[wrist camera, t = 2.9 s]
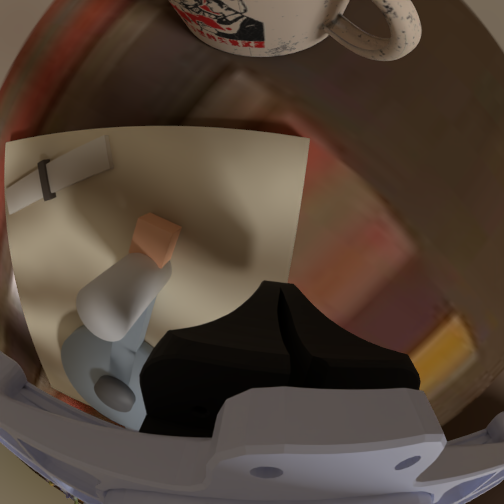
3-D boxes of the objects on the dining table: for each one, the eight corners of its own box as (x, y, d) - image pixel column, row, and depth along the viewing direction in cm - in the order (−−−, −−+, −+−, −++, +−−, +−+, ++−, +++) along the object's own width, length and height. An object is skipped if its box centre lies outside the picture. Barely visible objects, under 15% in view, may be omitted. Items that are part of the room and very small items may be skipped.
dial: (171, 436, 19) (155, 481, 14) (70, 382, 18) (43, 419, 13) (260, 262, 13) (253, 320, 8) (88, 183, 12) (21, 199, 8)
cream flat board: (251, 437, 20) (249, 453, 18) (57, 380, 20) (49, 391, 19) (306, 140, 12) (311, 137, 11) (17, 141, 13) (0, 143, 11)
